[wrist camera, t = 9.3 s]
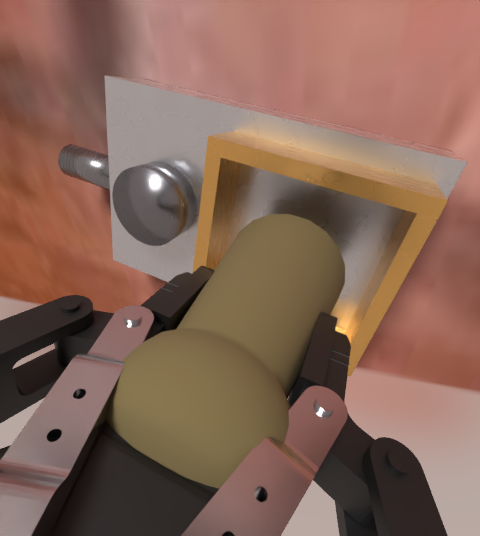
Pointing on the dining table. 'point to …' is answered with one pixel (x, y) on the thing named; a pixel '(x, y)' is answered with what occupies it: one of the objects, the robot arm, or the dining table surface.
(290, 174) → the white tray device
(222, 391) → the cork
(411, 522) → the robot arm
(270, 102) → the dining table surface
